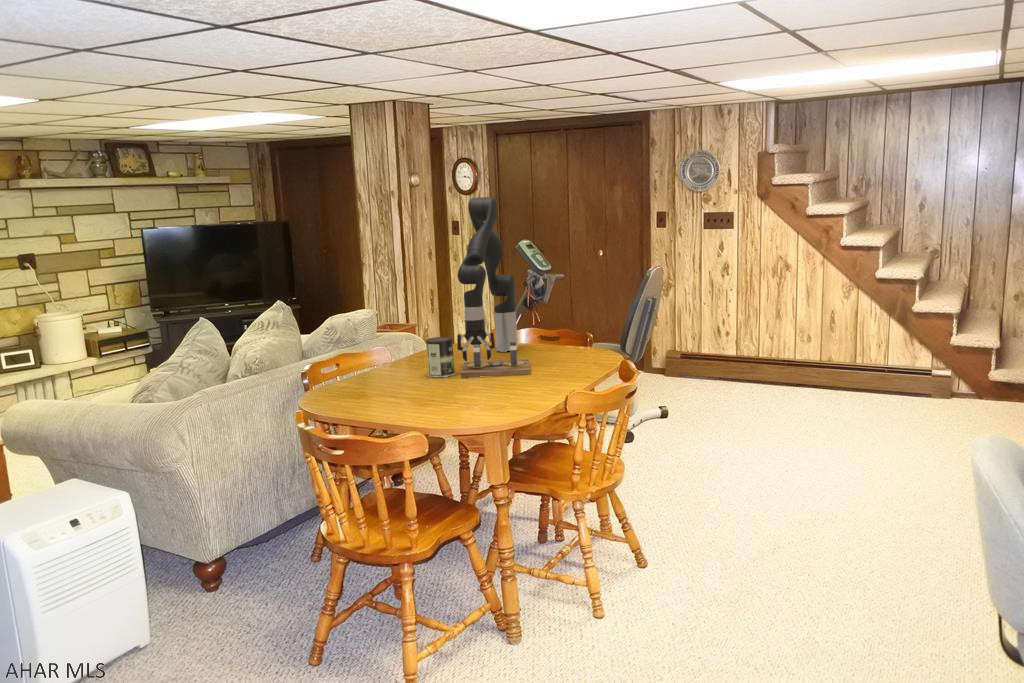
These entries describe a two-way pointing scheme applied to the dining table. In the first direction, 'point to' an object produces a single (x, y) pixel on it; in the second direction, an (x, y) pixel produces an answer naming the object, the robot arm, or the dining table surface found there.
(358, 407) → the dining table surface
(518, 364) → the knob
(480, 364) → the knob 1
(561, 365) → the dining table surface
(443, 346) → the coffee can
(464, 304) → the robot arm
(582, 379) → the dining table surface
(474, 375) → the base plate
